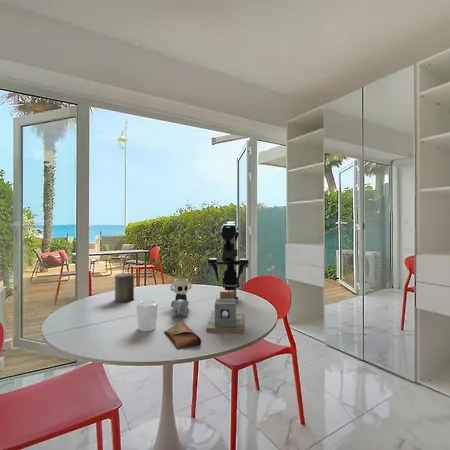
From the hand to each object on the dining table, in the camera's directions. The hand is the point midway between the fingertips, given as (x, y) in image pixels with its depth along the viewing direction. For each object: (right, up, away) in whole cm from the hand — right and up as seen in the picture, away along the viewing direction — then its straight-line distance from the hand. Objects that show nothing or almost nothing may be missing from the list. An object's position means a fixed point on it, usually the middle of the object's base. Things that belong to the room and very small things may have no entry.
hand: (227, 281), depth 126 cm
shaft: (-1, -13, -12) cm, 18 cm away
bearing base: (-1, -15, -10) cm, 18 cm away
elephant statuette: (-21, -15, -2) cm, 26 cm away
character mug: (-23, -15, +14) cm, 31 cm away
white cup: (-32, -15, -17) cm, 39 cm away
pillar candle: (-55, -15, +24) cm, 62 cm away
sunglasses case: (-17, -16, -26) cm, 35 cm away
